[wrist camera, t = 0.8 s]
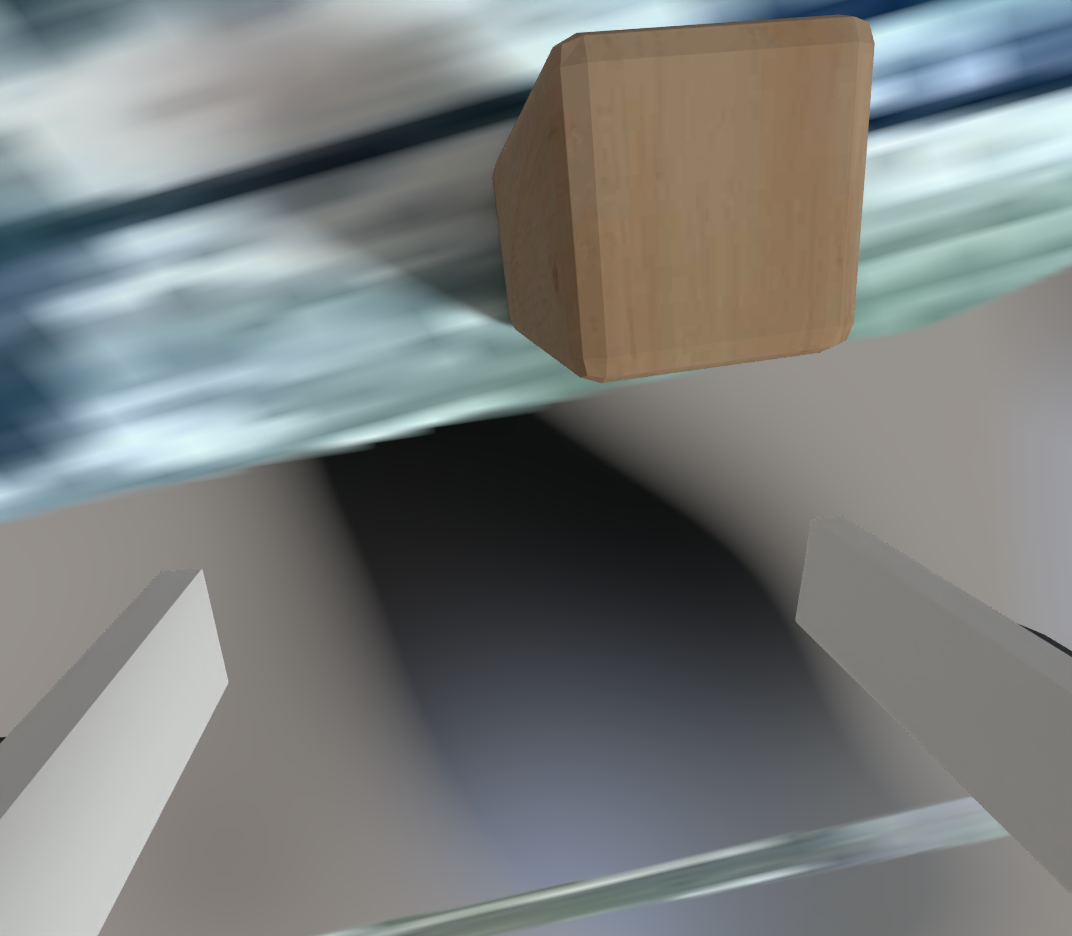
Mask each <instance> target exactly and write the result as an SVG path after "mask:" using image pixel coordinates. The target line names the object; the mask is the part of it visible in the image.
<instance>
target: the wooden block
mask: <svg viewBox="0 0 1072 936" xmlns="http://www.w3.org/2000/svg"><path fill="white" fill-rule="evenodd" d="M874 45H875V44H874V40H873V36H872V32H871V28H870V24H869V22H866V21H864V20H861V19H859V18H856V17H853V16H845V15H829V16H815V17H800V18H786V19H771V20H757V21H742V22H728V23H713V24H699V25H685V26H670V27H656V28H641V29H627V30H612V31H598V32H583V33H576V34H574V35H572V36H571V37H569V38H567V39H566V40H564V41H562V42H561V43H559V44H557V45H556V46H554V47H553V48H552V50H551V52H550V54H549V56H548V58H547V60H546V62H545V64H544V66H543V68H542V70H541V73H540V75H539V77H538V79H537V81H536V83H535V85H534V87H533V89H532V91H531V93H530V95H529V97H528V99H527V101H526V103H525V105H524V107H523V109H522V111H521V113H520V115H519V117H518V119H517V121H516V124H515V126H514V128H513V130H512V132H511V134H510V136H509V138H508V140H507V142H506V144H505V146H504V148H503V150H502V152H501V154H500V156H499V158H498V160H497V162H496V166H495V170H494V174H493V184H494V192H495V201H496V209H497V217H498V226H499V234H500V242H501V251H502V259H503V268H504V276H505V284H506V293H507V301H508V310H509V318H510V320H511V322H512V324H513V326H514V328H515V329H516V330H517V331H518V332H520V333H521V334H522V335H524V336H525V337H526V338H528V339H529V340H530V341H532V342H533V343H534V344H536V345H537V346H539V347H540V348H541V349H543V350H544V351H545V352H547V353H548V354H549V355H551V356H552V357H553V358H555V359H556V360H557V361H559V362H560V363H562V364H563V365H564V366H566V367H567V368H568V369H570V370H571V371H572V372H574V373H575V374H576V375H578V376H579V377H581V378H585V379H588V380H592V381H596V382H599V383H605V382H612V381H619V380H626V379H633V378H641V377H648V376H655V375H662V374H669V373H677V372H684V371H691V370H698V369H705V368H713V367H720V366H727V365H734V364H741V363H749V362H756V361H763V360H770V359H777V358H785V357H792V356H799V355H806V354H813V353H820V352H822V351H824V350H827V349H829V348H831V347H833V346H835V345H837V344H839V343H842V342H844V341H846V340H847V337H848V335H849V333H850V330H851V328H852V326H853V323H854V311H855V298H856V284H857V271H858V258H859V244H860V231H861V218H862V204H863V191H864V178H865V164H866V151H867V138H868V124H869V111H870V98H871V85H872V71H873V58H874Z"/></svg>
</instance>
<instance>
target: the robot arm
mask: <svg viewBox="0 0 1072 936" xmlns="http://www.w3.org/2000/svg"><path fill="white" fill-rule="evenodd" d="M796 622H797V623H798V624H799V625H800V626H801V627H802V628H803V629H804V630H805V631H806V632H807V633H808V634H809V635H810V636H811V637H812V638H813V639H814V640H815V641H816V642H817V643H818V644H819V645H820V646H821V647H822V648H823V649H824V650H825V651H826V652H827V653H828V654H829V655H830V656H831V657H832V658H833V659H834V660H836V662H837V663H838V664H839V665H841V667H842V668H843V669H844V670H845V671H846V672H847V673H848V674H849V675H850V676H851V677H852V678H853V679H854V680H855V681H856V682H857V683H858V684H859V685H860V686H861V687H862V688H864V689H865V690H866V691H867V692H868V693H869V694H870V695H871V696H872V697H873V698H874V699H875V700H876V701H877V702H878V703H879V704H880V705H881V706H882V707H883V708H884V709H885V710H886V711H887V712H888V713H889V714H890V715H891V716H892V717H893V718H894V719H895V720H896V721H897V722H898V723H899V724H900V725H901V726H902V727H903V728H904V729H905V730H906V731H907V732H908V733H909V734H910V735H911V736H912V737H913V738H914V739H915V740H916V741H917V742H918V743H919V744H920V745H921V746H922V747H923V748H924V749H925V750H926V751H927V752H928V753H929V754H930V755H931V756H932V757H933V758H934V759H935V760H936V761H937V762H938V763H939V764H940V765H941V766H942V767H943V768H944V769H945V770H946V771H947V772H948V773H949V774H950V775H951V776H952V777H953V778H954V779H955V780H956V781H957V782H958V783H959V784H960V785H961V786H962V787H963V788H964V789H965V790H966V791H967V792H968V793H969V794H970V795H971V796H972V797H973V798H974V799H975V800H976V801H977V802H978V803H979V804H980V805H981V806H982V807H983V808H984V809H985V810H986V811H987V812H988V813H989V814H990V815H991V816H992V817H993V818H994V819H995V820H996V821H997V822H998V823H999V824H1000V825H1001V826H1002V827H1004V828H1005V829H1006V830H1007V831H1008V832H1009V833H1010V834H1011V835H1012V836H1013V837H1014V838H1015V839H1016V840H1017V841H1018V842H1019V843H1020V844H1021V845H1022V846H1023V847H1024V848H1025V849H1026V850H1027V851H1028V852H1029V853H1030V854H1031V855H1032V856H1033V857H1034V858H1035V859H1036V860H1037V861H1038V862H1039V863H1040V864H1041V865H1042V866H1043V867H1044V868H1045V869H1046V870H1047V871H1048V872H1049V873H1050V874H1051V875H1052V876H1053V877H1054V878H1055V879H1056V880H1057V881H1058V882H1059V883H1060V884H1061V885H1062V886H1063V887H1064V888H1065V889H1066V890H1067V891H1068V892H1069V893H1070V894H1071V895H1072V651H1071V650H1069V649H1067V648H1066V647H1064V646H1062V645H1061V644H1059V643H1057V642H1055V641H1054V640H1052V639H1051V638H1049V637H1047V636H1046V635H1044V634H1041V633H1039V632H1037V631H1034V630H1032V629H1029V628H1027V627H1024V626H1022V625H1020V624H1017V623H1015V622H1014V621H1012V620H1010V619H1009V618H1007V617H1006V616H1004V615H1002V614H1001V613H999V612H998V611H996V610H994V609H992V608H991V607H989V606H988V605H986V604H985V603H983V602H981V601H980V600H978V599H976V598H975V597H973V596H971V595H970V594H968V593H967V592H965V591H963V590H962V589H960V588H958V587H956V586H955V585H954V584H952V583H950V582H949V581H947V580H945V579H944V578H942V577H941V576H939V575H937V574H936V573H934V572H932V571H931V570H929V569H928V568H926V567H924V566H923V565H921V564H919V563H918V562H916V561H914V560H913V559H911V558H909V557H908V556H906V555H905V554H903V553H902V552H900V551H898V550H897V549H895V548H893V547H892V546H890V545H889V544H887V543H885V542H884V541H882V540H880V539H879V538H877V537H875V536H874V535H872V534H871V533H869V532H867V531H866V530H864V529H862V528H861V527H859V526H858V525H856V524H854V523H853V522H851V521H849V520H848V519H846V518H845V517H843V516H834V517H821V518H812V519H811V524H810V531H809V538H808V544H807V550H806V557H805V563H804V569H803V576H802V582H801V589H800V595H799V602H798V608H797V615H796ZM227 684H228V678H227V674H226V670H225V665H224V661H223V657H222V652H221V648H220V644H219V639H218V635H217V631H216V626H215V622H214V618H213V613H212V609H211V604H210V601H209V596H208V591H207V587H206V583H205V579H204V574H203V570H202V569H201V568H200V569H188V570H176V571H164V572H160V573H159V574H158V575H157V576H156V577H155V578H154V579H153V580H152V581H151V583H150V584H149V585H148V586H147V587H146V588H145V589H144V590H143V591H142V592H141V593H140V594H139V595H138V597H137V598H136V599H135V600H134V601H133V602H132V603H131V604H130V605H129V606H128V607H127V608H126V609H125V610H124V611H123V613H122V614H121V615H120V616H119V617H118V618H117V619H116V620H115V621H114V622H113V623H112V624H111V625H110V626H109V628H108V629H107V630H106V631H105V632H104V633H103V634H102V635H101V636H100V637H99V638H98V639H97V640H96V642H95V643H94V644H93V645H92V646H91V647H90V648H89V649H88V650H87V651H86V652H85V653H84V654H83V655H82V657H81V658H80V659H79V660H78V661H77V662H76V663H75V664H74V665H73V666H72V667H71V668H70V669H69V670H68V671H67V673H66V674H65V675H64V676H63V677H62V678H61V679H60V680H59V681H58V682H57V683H56V684H55V685H54V686H53V688H52V689H51V690H50V691H49V692H48V693H47V694H46V695H45V696H44V697H43V698H42V699H41V700H40V701H39V703H38V704H37V705H36V706H35V707H34V708H33V709H32V710H31V711H30V712H29V713H28V714H27V716H25V718H24V719H23V720H22V721H21V722H20V723H19V724H18V725H17V726H16V727H15V728H14V729H13V730H12V732H11V733H10V734H9V735H8V736H7V737H1V738H0V936H98V934H99V932H100V930H101V928H102V926H103V924H104V922H105V920H106V918H107V916H108V914H109V912H110V910H111V908H112V906H113V905H114V903H115V901H116V899H117V896H118V895H119V893H120V891H121V889H122V887H123V885H124V883H125V882H126V879H127V878H128V876H129V874H130V872H131V870H132V868H133V866H134V864H135V862H136V860H137V858H138V856H139V854H140V852H141V851H142V849H143V847H144V845H145V843H146V841H147V839H148V837H149V835H150V833H151V831H152V829H153V827H154V825H155V824H156V822H157V820H158V818H159V816H160V814H161V812H162V810H163V808H164V806H165V804H166V802H167V800H168V798H169V797H170V795H171V793H172V791H173V789H174V787H175V785H176V783H177V781H178V779H179V777H180V775H181V773H182V771H183V769H184V768H185V766H186V763H187V762H188V760H189V758H190V756H191V754H192V752H193V750H194V748H195V746H196V744H197V742H198V740H199V738H200V737H201V735H202V733H203V731H204V729H205V727H206V725H207V723H208V721H209V719H210V717H211V715H212V713H213V711H214V710H215V707H216V706H217V704H218V702H219V700H220V698H221V696H222V694H223V692H224V690H225V688H226V686H227Z"/></svg>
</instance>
